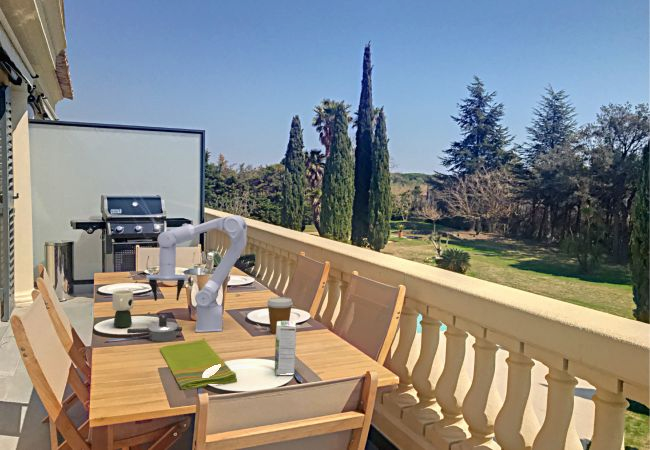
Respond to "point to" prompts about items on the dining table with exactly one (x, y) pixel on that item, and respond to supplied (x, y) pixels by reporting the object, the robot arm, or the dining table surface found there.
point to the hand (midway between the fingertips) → (166, 300)
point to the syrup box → (285, 347)
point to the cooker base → (157, 334)
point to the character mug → (122, 307)
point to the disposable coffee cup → (278, 311)
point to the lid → (162, 325)
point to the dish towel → (196, 364)
